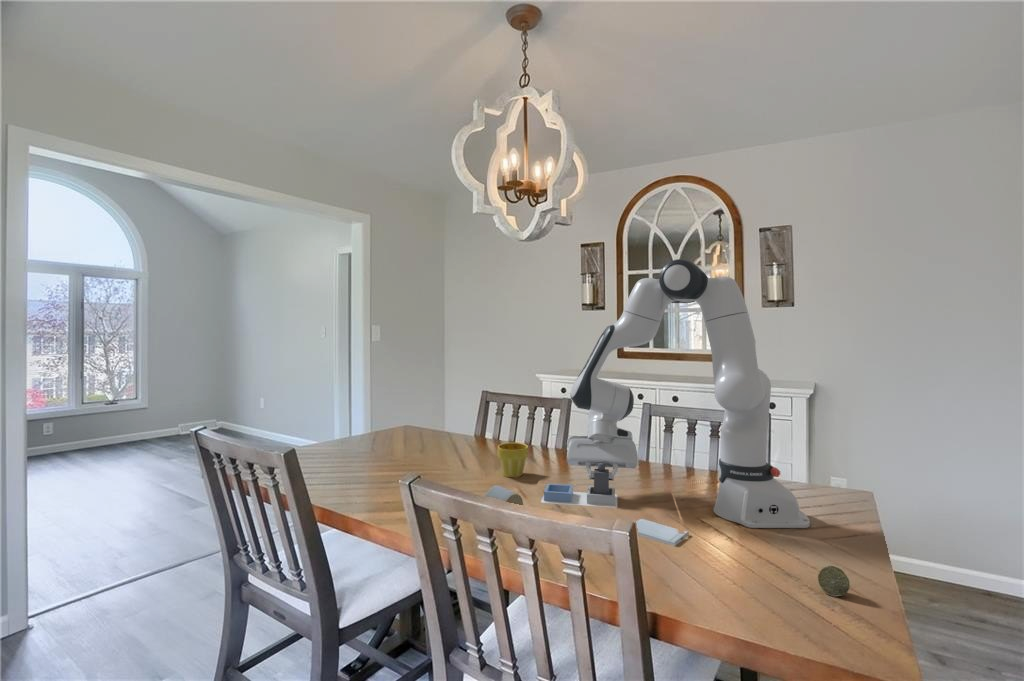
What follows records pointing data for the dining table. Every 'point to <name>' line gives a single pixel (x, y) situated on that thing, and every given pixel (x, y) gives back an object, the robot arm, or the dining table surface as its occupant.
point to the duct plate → (578, 496)
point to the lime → (833, 581)
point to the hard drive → (660, 532)
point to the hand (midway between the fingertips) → (601, 479)
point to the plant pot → (512, 458)
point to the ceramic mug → (504, 495)
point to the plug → (601, 480)
